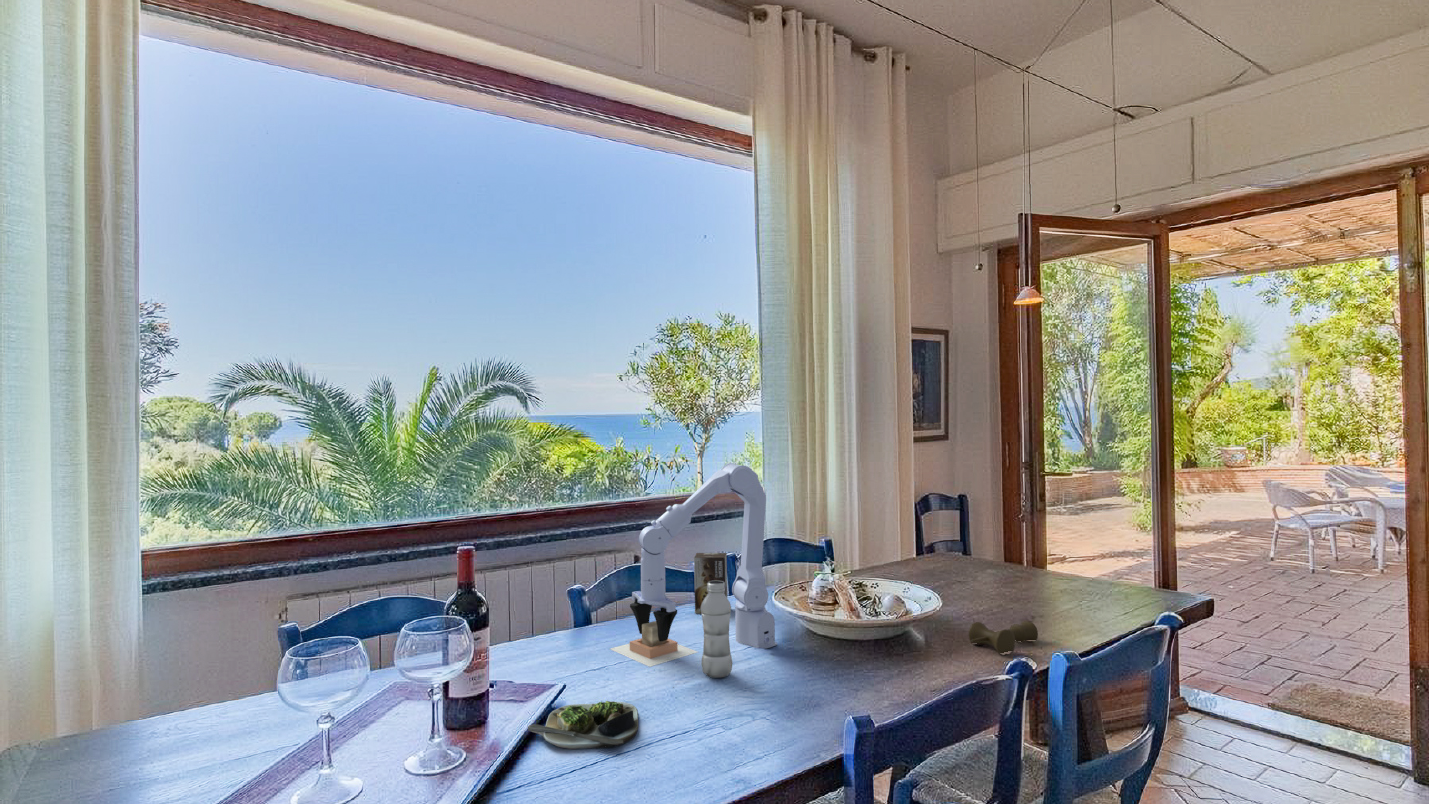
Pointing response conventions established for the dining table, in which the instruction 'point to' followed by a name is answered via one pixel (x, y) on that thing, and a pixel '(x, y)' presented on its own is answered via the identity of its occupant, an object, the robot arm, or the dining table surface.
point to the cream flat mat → (656, 660)
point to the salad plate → (590, 725)
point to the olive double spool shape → (1002, 635)
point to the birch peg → (650, 634)
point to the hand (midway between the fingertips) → (653, 636)
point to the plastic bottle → (716, 631)
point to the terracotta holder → (653, 648)
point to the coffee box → (708, 574)
